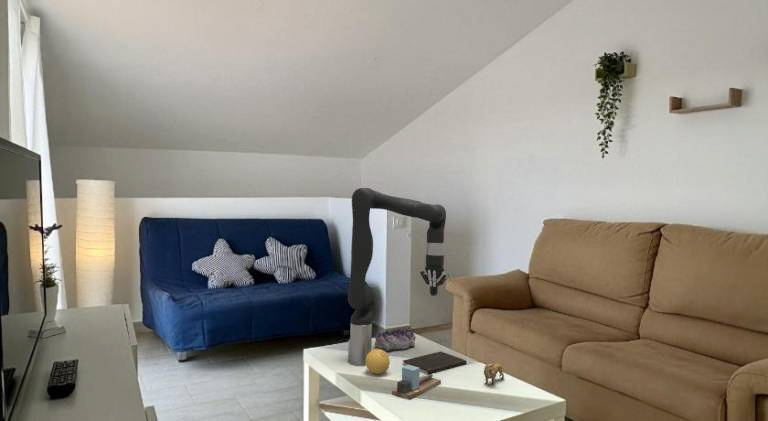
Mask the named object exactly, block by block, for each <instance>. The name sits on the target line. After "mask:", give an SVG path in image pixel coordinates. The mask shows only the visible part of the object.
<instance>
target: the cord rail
mask: <svg viewBox="0 0 768 421" xmlns="http://www.w3.org/2000/svg"><path fill="white" fill-rule="evenodd" d="M433 376H434V375H433V374H430V375H425V374H424V375H422V376H419V388H417V389H415V390H410V382H408V381H404V380H402V379H401V380H399V381H397V383H396V386H397V387H396V388H394V389H392V390H391V395H393V396H396V397H400V398H402V399H406V400H410V401H411V400H412V399H414V398H416V396H417V397H418V396H420V395H423V394H424V393H426V392H427V391H430V390H432V389H433V388H436V387H438V386H439V385H442V380H441V379H439V378H436V377H435V378H434V377H433Z"/></svg>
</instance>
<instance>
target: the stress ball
mask: <svg viewBox="0 0 768 421" xmlns="http://www.w3.org/2000/svg"><path fill="white" fill-rule="evenodd" d="M365 363H366V365H365V367H366V369H367V371H369V372H370V373H371V374H375V375H382V374H385V373H386V372H387V371H388V370H389V368H390V367H389V366H390V364H391V363H390V356H389V354H388V352H387V351H385V350H381V349H377V348H374V349H371V351H370V352H369V353H368V355H367V356H366V360H365Z"/></svg>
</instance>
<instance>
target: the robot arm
mask: <svg viewBox="0 0 768 421" xmlns="http://www.w3.org/2000/svg"><path fill="white" fill-rule="evenodd" d="M372 209H375V210H376V209H377V210H385V211H389V212H392V213H395V214H398V215H401V216H405V217H410V218H416V219H420V220H423V221H426V222H429V225H428V229H427V231H426V244H425V260H424V262H425V267H424V270H422V271H420V272H419V273H420V275H421V277H422V279H423V280H424V282H425V284H426V285H428V286H429V294H430V296H433V297H435V296H438V291H439V288H438V287H439V286H442V285H443V284H444V283H445V282H446V281H447V279H448V278H449V276H450V275H449V274H448V273H446V272H445V268H444V264H445V243H444V242H445V226H446V221H447V211H446V209H445V207H444V206H443V205H441V204H430V203H425V202H422V201H419V200H415V199H409V198H406V197H397V196H392V195H388V194H385V193H382V192H379V191H376V190H374V189H372V188H369V187H359V188H357V189H355V190H354V191H353V193H352V195H351V210H352V211H351V212H352V230H351V251H350V253H351V256H350V257H351V258H350V276H349V284H348V290H347V302H348V304H349V305H350V307H351V308H352V309H355V310H354V312H353V313H352V315H351V316H350V330H349V331H350V332H349V333H350V338H349V339H348V343H347V344H348V346H347V347H348V348H347V351H348V352H347V361H348V362H349V363H350V364H351V365H354V366H366V363H365V360H366V356H367V355H368V353H369V352H370V351H372V347H373V346H372V344H373V343H372V342H373V341H372V339H373V338H372V337H373V318H374V315H375V304H376V294H375V291H374V288H372V287H371V286H370V285H368V284H366V278H367V273H368V270H369V268H370V266H371V263H372V259H373V254H374V238H373V233H372V230H371V225H370V213H371V210H372Z"/></svg>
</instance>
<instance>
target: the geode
mask: <svg viewBox="0 0 768 421" xmlns="http://www.w3.org/2000/svg"><path fill="white" fill-rule="evenodd" d="M374 337H375V341H374V349H381V350H383V351H385V352H391V351H394V350H397V351H400V350H402V351H406V350H408V349H409V348H415V344H416V343H415V341H416V336H415V333H414V331H413V330H412V329H409V330H408V329H404V328H403V329H399V328H397V329H393V330H392V331H387V330H386V331H380V332H379V333H376V334H375V336H374Z"/></svg>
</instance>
